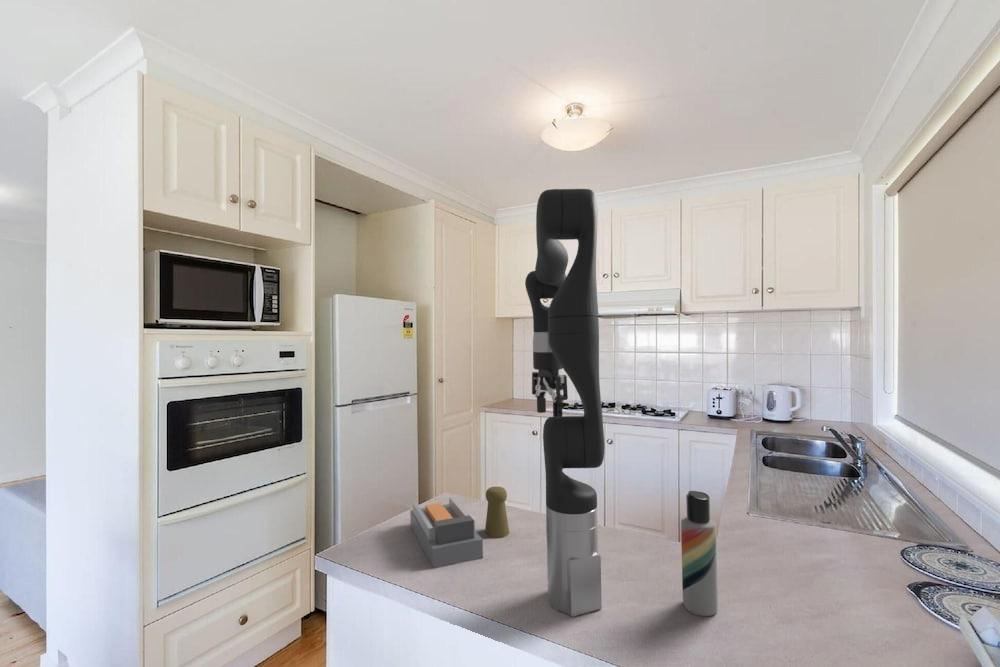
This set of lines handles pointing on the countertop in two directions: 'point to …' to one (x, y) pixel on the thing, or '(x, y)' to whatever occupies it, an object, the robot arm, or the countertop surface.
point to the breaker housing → (447, 535)
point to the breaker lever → (437, 512)
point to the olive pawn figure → (496, 513)
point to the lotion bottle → (699, 556)
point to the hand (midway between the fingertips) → (549, 414)
